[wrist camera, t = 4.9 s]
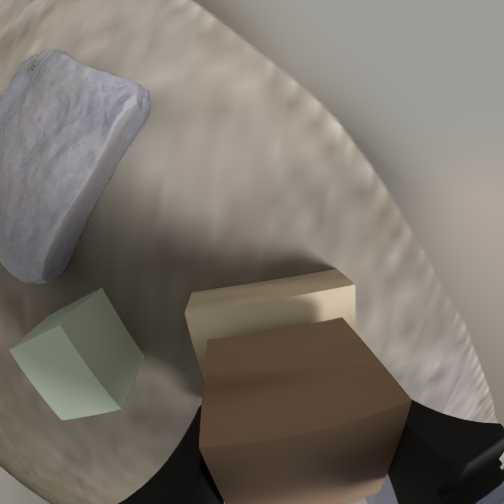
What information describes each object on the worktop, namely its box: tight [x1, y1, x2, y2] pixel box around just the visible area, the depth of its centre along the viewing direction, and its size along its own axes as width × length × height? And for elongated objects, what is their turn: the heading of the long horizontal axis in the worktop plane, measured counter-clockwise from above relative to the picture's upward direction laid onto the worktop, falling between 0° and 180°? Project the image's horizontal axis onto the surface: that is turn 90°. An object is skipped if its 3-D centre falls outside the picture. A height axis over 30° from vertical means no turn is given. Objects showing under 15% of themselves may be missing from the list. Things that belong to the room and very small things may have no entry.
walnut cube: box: [199, 317, 412, 504], centre depth 10 cm, size 6×6×6 cm
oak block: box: [184, 269, 355, 381], centre depth 15 cm, size 8×8×3 cm
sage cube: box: [9, 288, 145, 420], centre depth 13 cm, size 5×5×5 cm
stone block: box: [0, 49, 150, 284], centre depth 12 cm, size 12×5×10 cm
